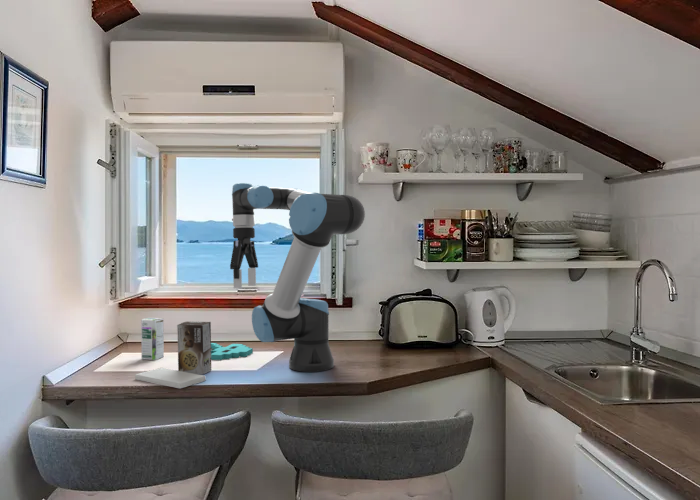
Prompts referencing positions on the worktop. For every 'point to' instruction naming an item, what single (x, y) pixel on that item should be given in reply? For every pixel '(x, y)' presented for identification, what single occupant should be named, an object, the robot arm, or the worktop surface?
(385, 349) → the worktop surface
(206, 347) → the coffee box
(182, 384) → the board
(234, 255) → the robot arm
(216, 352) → the alien figure
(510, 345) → the worktop surface
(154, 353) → the syrup box
